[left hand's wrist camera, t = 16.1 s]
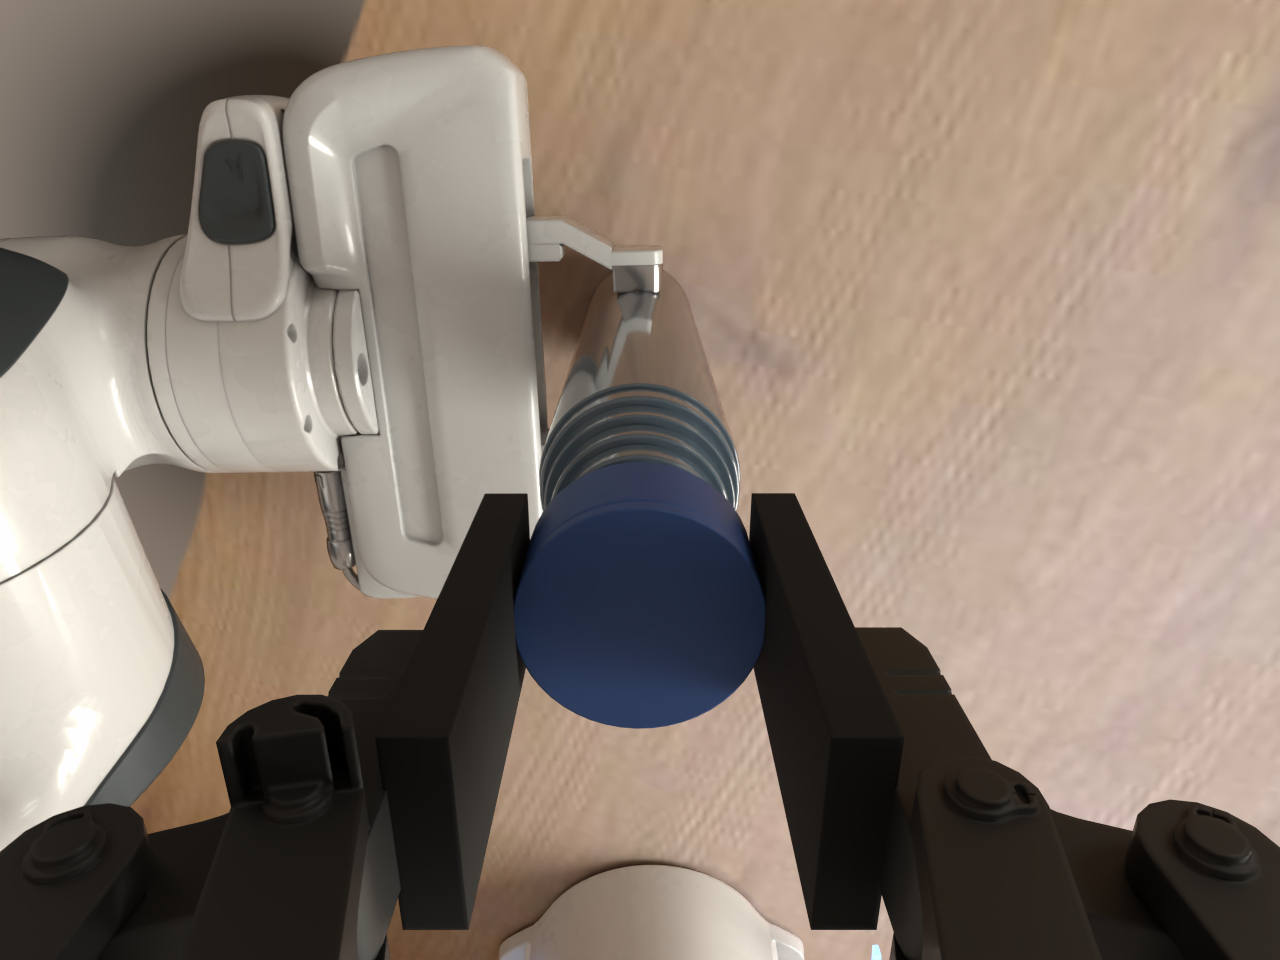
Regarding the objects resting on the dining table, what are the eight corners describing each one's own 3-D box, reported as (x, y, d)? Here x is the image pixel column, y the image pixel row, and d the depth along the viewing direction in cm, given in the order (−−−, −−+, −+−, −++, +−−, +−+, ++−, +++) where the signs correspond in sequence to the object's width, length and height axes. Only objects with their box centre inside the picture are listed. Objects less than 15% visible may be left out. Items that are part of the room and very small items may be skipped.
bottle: (571, 337, 37) (455, 660, 14) (617, 245, 36) (575, 431, 12) (660, 382, 38) (694, 762, 15) (708, 294, 37) (833, 558, 13)
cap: (561, 677, 16) (550, 749, 14) (501, 487, 14) (479, 539, 12) (768, 635, 15) (787, 703, 14) (727, 438, 14) (741, 482, 12)
